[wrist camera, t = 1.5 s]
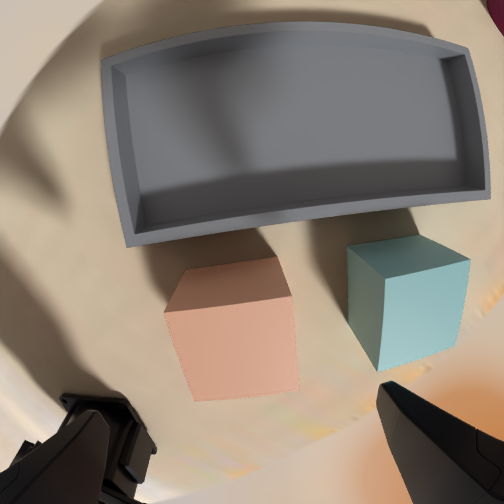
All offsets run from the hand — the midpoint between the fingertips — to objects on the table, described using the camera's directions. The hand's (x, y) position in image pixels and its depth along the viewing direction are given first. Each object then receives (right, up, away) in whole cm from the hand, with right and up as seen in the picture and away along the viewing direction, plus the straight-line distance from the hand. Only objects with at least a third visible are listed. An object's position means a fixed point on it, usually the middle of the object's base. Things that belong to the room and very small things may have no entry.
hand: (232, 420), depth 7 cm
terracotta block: (0, +2, +7) cm, 8 cm away
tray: (+4, +11, +5) cm, 12 cm away
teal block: (+8, +3, +7) cm, 11 cm away
